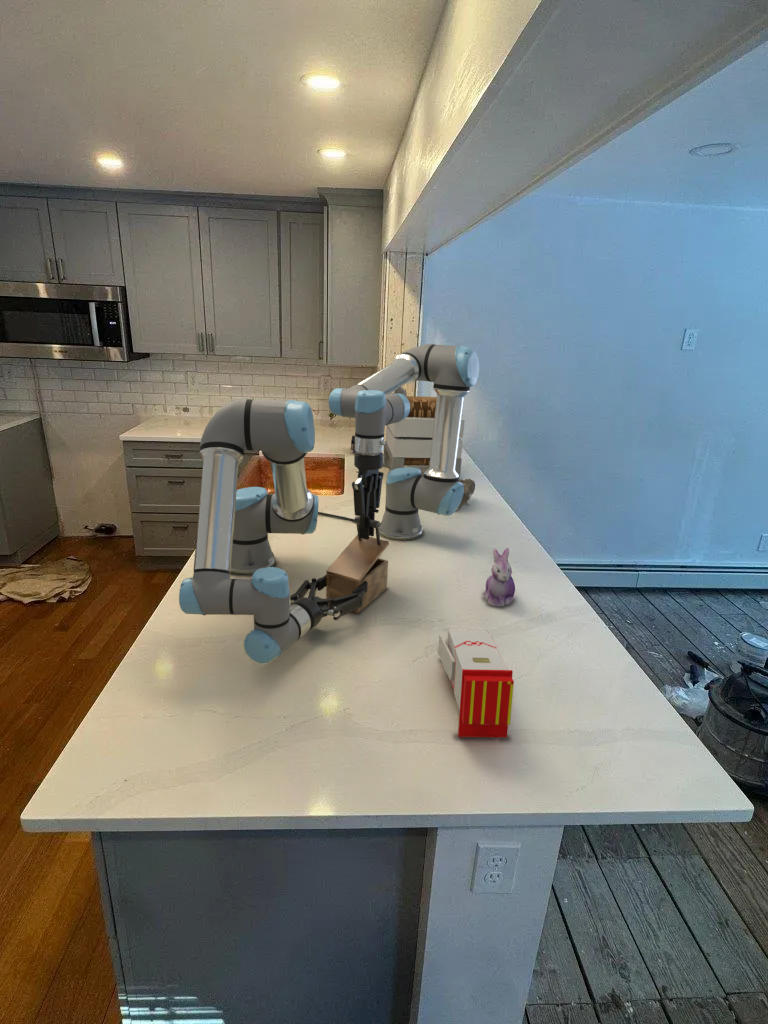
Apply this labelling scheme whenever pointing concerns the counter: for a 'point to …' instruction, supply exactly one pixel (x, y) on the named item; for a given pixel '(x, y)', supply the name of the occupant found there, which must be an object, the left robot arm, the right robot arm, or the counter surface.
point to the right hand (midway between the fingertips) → (366, 536)
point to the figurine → (500, 581)
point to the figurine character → (353, 443)
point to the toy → (478, 682)
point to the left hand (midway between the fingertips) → (348, 581)
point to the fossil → (467, 490)
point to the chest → (373, 577)
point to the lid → (358, 555)
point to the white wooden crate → (415, 435)
